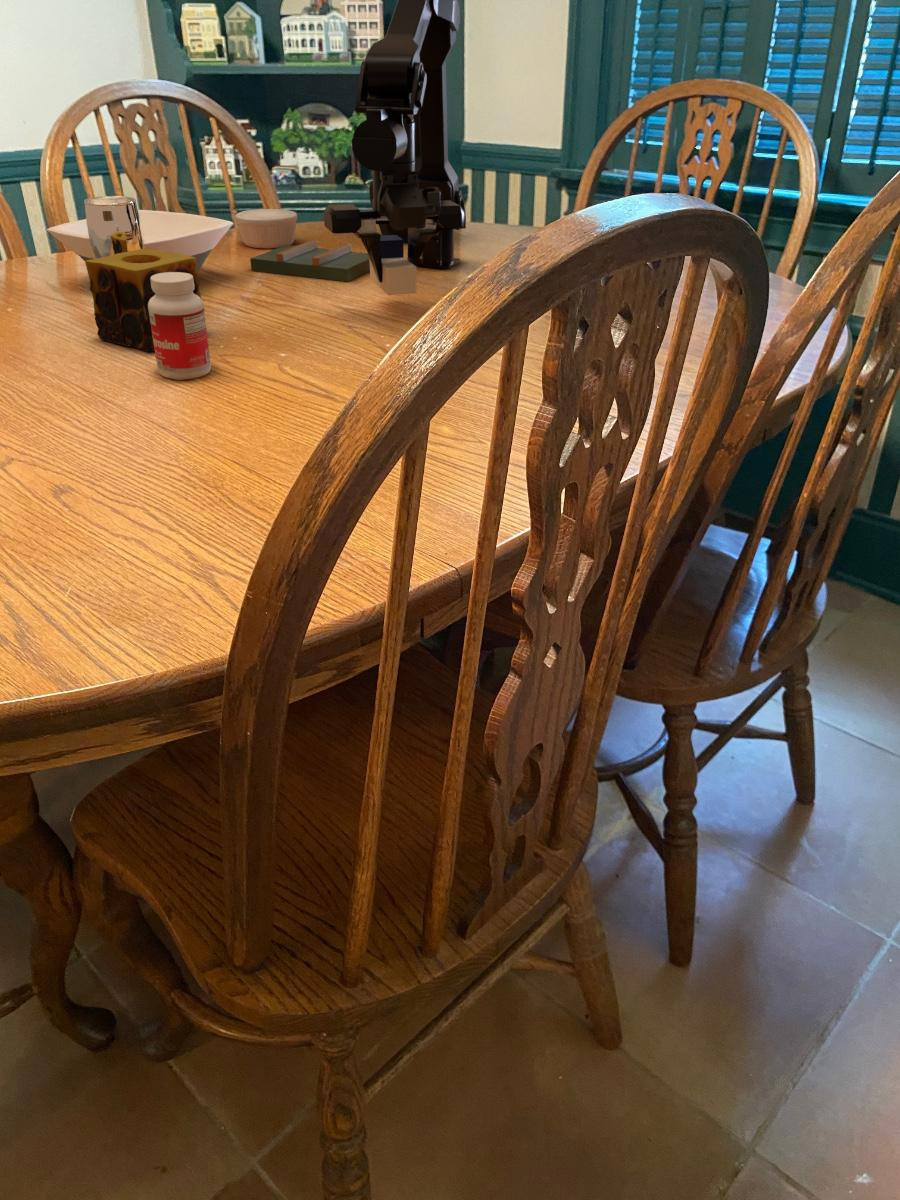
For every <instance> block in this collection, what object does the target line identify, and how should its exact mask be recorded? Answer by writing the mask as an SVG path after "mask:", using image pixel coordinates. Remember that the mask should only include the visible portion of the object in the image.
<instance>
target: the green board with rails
mask: <svg viewBox="0 0 900 1200" xmlns="http://www.w3.org/2000/svg"><path fill="white" fill-rule="evenodd" d="M318 246H319V245H318V240H313V239H312V240H308V241H306V242H304V243H301V244H298V245H293V244H291V245H285V246H282V247H279V248H273V249H272V250H269V251H267V252H264V253H261V254H258V255H255V256H253V257H250V258H249V260H250V271H252V272H258V273H259V272H260V273H268V274H278V275H284V276H293V277H303V278H313V279H320V280H329V281H338V282H347V283H348V282H350V281H352V280H354V279H356V278H358V277H360V276H362V275H364V274H367V273H368V272H370V258H369V255H368V252H357V251H353V250H352V244H351V243H344V244H342V245H338V246H337V247H334V248H330V249H329V248H320V247H319V248H318Z"/></svg>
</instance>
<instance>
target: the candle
mask: <svg viewBox="0 0 900 1200" xmlns="http://www.w3.org/2000/svg"><path fill="white" fill-rule="evenodd" d="M84 263H85V267H86V270H87V274H88V279H89V290H90V292H91V295H92V301H93V312H94V314H93V316H94V321H95V325H96V327H97V332H96V333H97V336H98V339H100V340H102V341H105V342H107V343H108V342H109V343H113V344H117V345H120V346H125V347H131V348H132V347H133V348H136V349H140V350H142V351H145V352H150V353H151V352H155V349H154V343H153V337H152V330H151V323H150V317H149V310H148V303H149V300H150V299H151V298H152V297H153V296H154V295H155V292H153V290H152V288H151V280H150V278H151V276H153V275H155V274H159V273H166V272H181V273H188V274H191V275H192V276H193V279H194V285H195V287H194V288H195V289H194V290H193V293H194V294H196V295H197V296H199V297H200V298H201V299H202V296H201V288H200V283H199V280H198V279H199V272H198V273H197V262H196V258H195V257H192V256H186V255H182V254H176V253H169V252H163V251H157V250H151V249H139V250H134V251H129V252H123V253H118V254H114V255H110V256H106V257H101V258H97V259H92V260H86V261H84Z"/></svg>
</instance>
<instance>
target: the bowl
mask: <svg viewBox="0 0 900 1200" xmlns="http://www.w3.org/2000/svg"><path fill="white" fill-rule="evenodd" d="M138 213H139V218H140V222H141V228H142V233H143V241H144V249H151V250H157V251H163V252H169V253H176V254H182V255H186V256H192V257H195V258H196V262H197V273H198V274H199V271H200V269H201V268H202V267H203V266H204V263H205V262H206V259H207V258H208V257H209V255H210V254H211V252H212V250H213V249H215V247H216V246H217V245H218V243H219V242H220V241H221V240H222V239H223V237H224V236H225V235H226V234H227V233H228V231H230V229H231V228H232V226H233V225H234V222H233V221H230V220H226V219H222V218H217V217H211V216H205V215H201V214H194V213H184V212H173V211H165V210H149V209H138ZM46 231H47V232H48V233H49V234H50V235H51V236H53V237H54V238H55V239H57V240H58V241H59V242H60V243H61V244H63V245H64V246H65V247H66V248H68V249H69V250H70V251H72V252H73V253H74V254H75V255H77V256H78V257H79V258H81V259H82V261H83V262H85V261H86V260H92V259H95V257H94V254H93V250H92V247H91V244H90V239H89V234H88V228H87V221H86V218H84V219H83V218H82V219H79V220H75V221H71V222H64V223H60V224H57V225H54V226H51V227H49V228H47V229H46Z"/></svg>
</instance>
